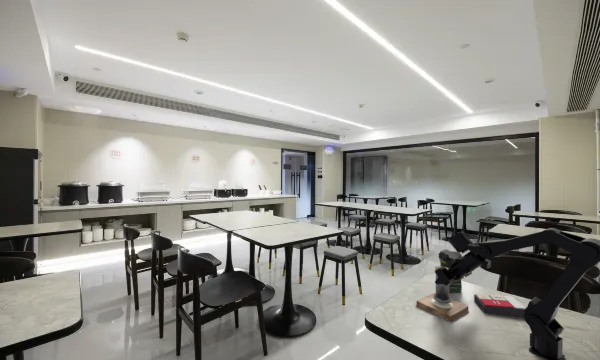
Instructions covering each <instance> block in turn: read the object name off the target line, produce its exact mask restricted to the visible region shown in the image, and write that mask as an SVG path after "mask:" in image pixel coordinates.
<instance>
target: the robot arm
mask: <svg viewBox="0 0 600 360" xmlns="http://www.w3.org/2000/svg"><path fill="white" fill-rule="evenodd" d="M447 241H448V243H449V244H450V245H451V246H452V247H453V249H455V250H454V251H455V252H456V251H457V252H458V253H460V254H461V255H462V254H463V255H462V257H460V258H458V257H457V256H456V255H455V254H453V253H452V252H450V251H451V250H449V249H442V250H440V251H441V252H438V259H439V258H440V259H441V260H443V261H445V262H446V263H448V264H447V266H448V268H449V269H446V268H445V267H441V268H438V269H436V270H435V269H434V273H435V276H436V275H437V276H438V278H437V279H436V278H435V281H434V284H435V285H436V284H444V285H445V286H447V285H449V284H451V283H453V282H454V280H459V279H461V280H462V279H465V278H467V277H469V276H471V275H472V274H473V272H474V271H475V270H476V269H478V268H480V267H483V268H484V269H485V270H486V269H490V268H491V267H492V264H491V263H492V259H494V258H496V257H499V256H501V255H503V254H504V255H505V254H506V253H508V252H512V251H516V250H517V251H518V250H522V249H525V248H531V247H536V246H538V245H539V246H540V245H545V244H552V245H555V246H557V247H558V248H560V249H561V250H564V251H566V252H569V253H570V256H569V260H568V262H567V265H566V267H564V270H563V271H562V272H561V273H560V275H559V276H557V279H556V280H555V281H554V283H552V285H551V286H550V288H549V289H548V290H547V292H546V293H545V294H544V295H543V297H542V298H541V299H540V298H539V297H537V296H535V297H534V298H532V299H531V300H530V301H529V302H528V304H527V306H525V307H526V308H525V309H524V310H523V311H524V312H525V313H524V315H523V320H524V321H525V323H526V324H527V325H528V326H529V329H530V332H531V333H529V348H528V351H529V352H531V353H534V354H536V355H537V356H539V357H541V358H543V359H545V360H563V359H565V358H566V355H564V354H563V349H564V348H563V347H564V346H563V342H564V341H563V340H564V338H563V337H560V335H561V334H562V333H563V331H564V330H565V327H564V326H563V325H561V324H560V322H558V320H557V319H556V316H557V314H558V310H559V307H560V305H561V304H562V302H563V301H564V300H565V298H567V296H568V295H569V293H571V291H572V290H573V289H574V288H575V286H576V285H577V284H578V283H579V281H580V280H581V279H582V278H583V277H584V275H585V274H586V272H588V271H590V270H591V269H592V268H594V267H595V266H596V265H598V263H600V239H597V238H586V237H582V236H580V235H577V234H573V233H569V232H565V231H562V230H561V229H558V228H555V227H549V228H547V229H543V230H541V231H536V232H533V233H529V234H525V235H521V236H520V235H519V236H516V237H513V238H510V239H495V240H493V239H492V240H487V241H484V242H478V241H477V242H473V241H472V240H471V238H469V237H468V236H467V234H466V233H465V232H464V231H459V232H458V233H456V234H455V235H453V236H451V237H449V238H448V239H447Z"/></svg>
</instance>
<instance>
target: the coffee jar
mask: <svg viewBox="0 0 600 360" xmlns="http://www.w3.org/2000/svg"><path fill="white" fill-rule="evenodd" d="M441 251H442V250H440V252H441ZM449 251H450V252H452V253H453V254H455V255H456V256H457V257H458V258H460V257H462V256H463V255H462V253H458V252H457V251H456V250H454V251H452V250H449ZM440 252H439V253H440ZM438 259H439V262H440V263H439V266H441V267H446V268H448V266H447V264H448V263H446V262H445V261H443V260H441V259H440V258H439V257H438ZM462 285H463V284H462V279H459V280H454V282H453V283H451V284H449V293H450V292H451V293H461V292H462V289H463V287H462Z"/></svg>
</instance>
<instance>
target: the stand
mask: <svg viewBox="0 0 600 360" xmlns="http://www.w3.org/2000/svg"><path fill="white" fill-rule="evenodd" d="M434 294H436V292H433V293H430V294H429V295H427V296H424V297H422V298H419V299H417V300H416V303H415V304H416V307H419V308H421V309H423V310H425V311H426V312H430V313H431V314H434V315H435V316H438V317H439V318H440V317H441V318H442V319H444V320H446V321H448V322H452V321H453V320H455V319H457V318H459V317H461V316H462V315H464V314H466V313H467V312H469V305H467V304H464V303H462V302H459V301H456V300H454V299H452V298H451V303H448V304H445V303H440V302H437V301H436V300H434Z"/></svg>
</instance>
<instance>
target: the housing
mask: <svg viewBox="0 0 600 360" xmlns="http://www.w3.org/2000/svg"><path fill="white" fill-rule="evenodd" d="M438 268H441V266H440V265H439V266H438V265H437V266H435V267H434V271H435V270H436V269H438ZM445 268H446V267H445ZM446 269H449V268H446ZM437 278H438V276H437V275H436V274H435V280H436V279H437ZM435 293H436V294H434V300H436V301H437V302H440V303H445V304H448V303H451V299H452V298H451V297H450V292H449V285H447V286H445V285H444V284H436V283H435Z"/></svg>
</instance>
